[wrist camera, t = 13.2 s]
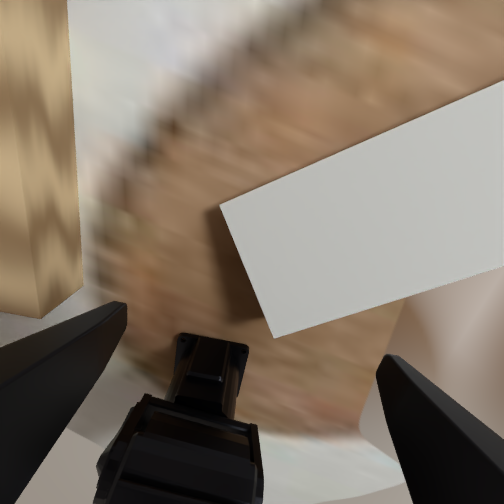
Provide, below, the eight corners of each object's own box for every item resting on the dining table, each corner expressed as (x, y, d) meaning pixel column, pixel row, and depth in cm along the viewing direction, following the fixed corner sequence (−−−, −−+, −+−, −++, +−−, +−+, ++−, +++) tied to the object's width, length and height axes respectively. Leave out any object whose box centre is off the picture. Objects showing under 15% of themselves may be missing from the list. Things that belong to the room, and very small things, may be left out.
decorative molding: (234, 206, 23) (277, 313, 23) (219, 204, 18) (273, 338, 19) (744, -13, 16) (783, 144, 17) (932, -108, 11) (975, 117, 12)
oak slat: (85, 284, 23) (40, 319, 19) (39, 275, 23) (-18, 308, 18) (61, -164, 13) (-48, -329, 9) (-20, -184, 13) (-175, -362, 8)
